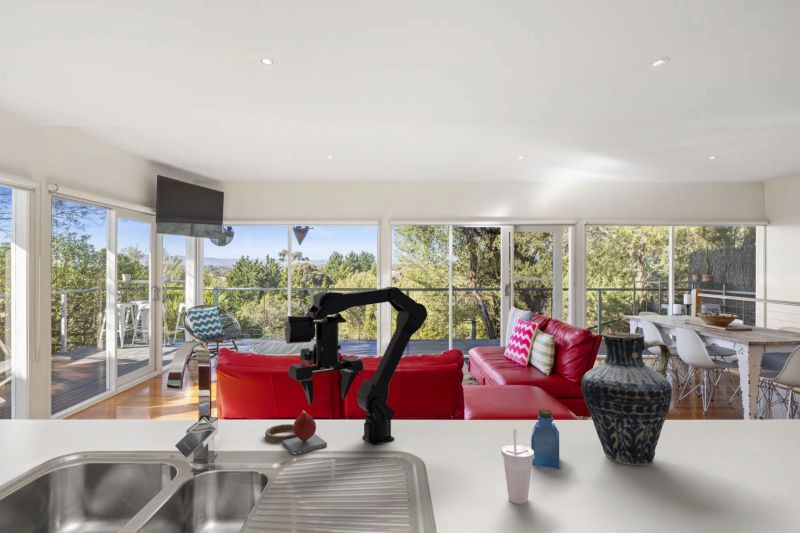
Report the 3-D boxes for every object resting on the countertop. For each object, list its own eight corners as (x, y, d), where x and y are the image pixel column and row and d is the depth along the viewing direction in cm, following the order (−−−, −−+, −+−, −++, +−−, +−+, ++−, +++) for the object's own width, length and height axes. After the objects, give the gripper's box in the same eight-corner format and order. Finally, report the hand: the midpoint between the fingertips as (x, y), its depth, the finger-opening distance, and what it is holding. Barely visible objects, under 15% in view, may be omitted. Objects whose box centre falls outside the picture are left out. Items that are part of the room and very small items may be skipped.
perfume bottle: (559, 458, 109) (559, 408, 109) (559, 469, 103) (559, 416, 103) (532, 454, 111) (532, 406, 111) (531, 465, 105) (531, 413, 106)
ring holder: (294, 427, 131) (294, 421, 131) (307, 437, 123) (307, 431, 123) (261, 434, 126) (261, 428, 126) (272, 445, 118) (272, 439, 118)
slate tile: (314, 436, 124) (314, 433, 124) (326, 446, 117) (326, 442, 117) (282, 444, 119) (282, 440, 119) (293, 454, 112) (293, 450, 112)
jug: (613, 479, 98) (612, 341, 98) (566, 444, 117) (566, 329, 118) (697, 472, 101) (696, 338, 102) (638, 439, 121) (638, 327, 121)
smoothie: (497, 491, 93) (497, 423, 93) (527, 490, 93) (527, 422, 94) (507, 508, 87) (507, 435, 87) (540, 506, 87) (539, 433, 87)
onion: (318, 437, 120) (318, 407, 120) (312, 446, 115) (311, 414, 115) (297, 436, 121) (297, 407, 121) (289, 445, 115) (289, 414, 115)
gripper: (344, 334, 128) (345, 389, 128) (280, 340, 117) (280, 400, 117) (364, 338, 119) (365, 398, 118) (297, 346, 108) (297, 411, 108)
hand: (327, 401), depth 116 cm, fingers open, 9 cm apart
